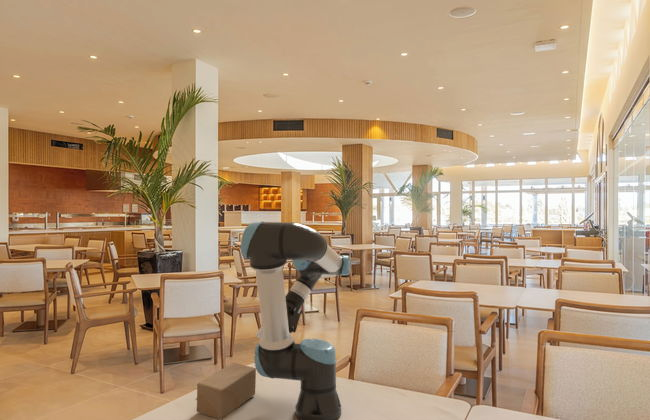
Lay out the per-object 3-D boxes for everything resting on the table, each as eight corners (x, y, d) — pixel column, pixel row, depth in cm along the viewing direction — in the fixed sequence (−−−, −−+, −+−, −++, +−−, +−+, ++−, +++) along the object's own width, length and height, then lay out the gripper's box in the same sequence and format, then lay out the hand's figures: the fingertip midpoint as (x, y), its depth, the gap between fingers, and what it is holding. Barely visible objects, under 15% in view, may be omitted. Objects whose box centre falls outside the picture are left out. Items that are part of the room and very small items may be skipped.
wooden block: (255, 394, 168) (220, 420, 150) (233, 388, 172) (196, 412, 154) (256, 367, 167) (221, 390, 149) (233, 361, 172) (196, 383, 154)
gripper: (322, 306, 179) (291, 355, 171) (285, 295, 199) (256, 338, 190) (310, 295, 176) (278, 344, 167) (274, 285, 195) (244, 329, 187)
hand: (267, 341), depth 179 cm, fingers open, 13 cm apart
